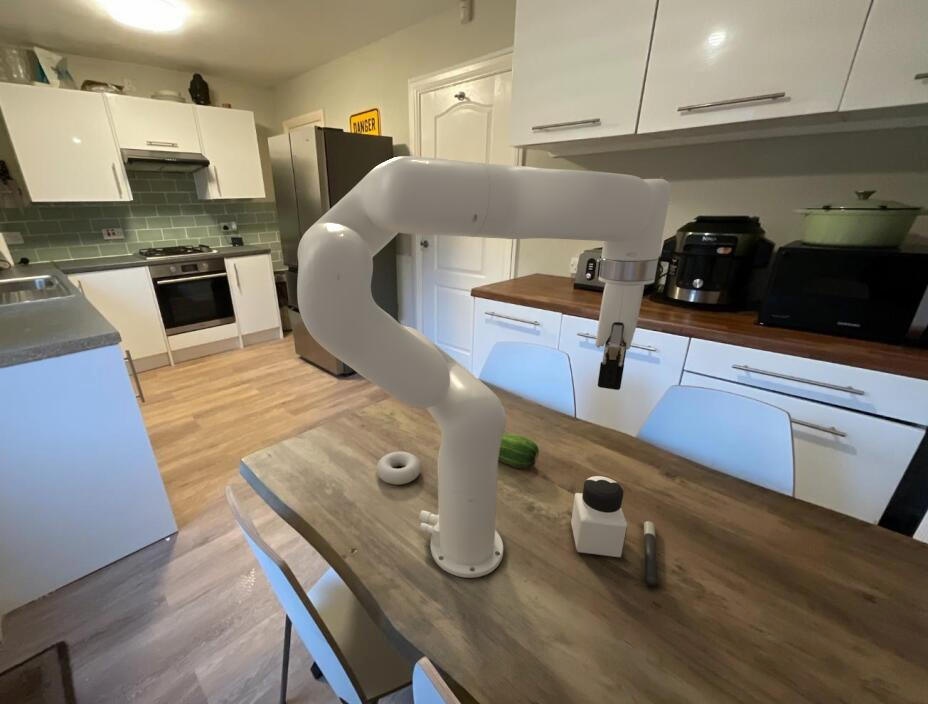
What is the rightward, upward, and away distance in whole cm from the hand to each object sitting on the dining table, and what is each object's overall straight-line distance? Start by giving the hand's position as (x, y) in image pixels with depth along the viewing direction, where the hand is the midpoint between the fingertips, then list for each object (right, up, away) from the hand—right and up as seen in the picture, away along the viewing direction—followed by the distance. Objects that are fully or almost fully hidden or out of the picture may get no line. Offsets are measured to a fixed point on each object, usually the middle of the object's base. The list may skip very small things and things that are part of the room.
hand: (611, 376), depth 67 cm
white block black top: (0, -29, +5) cm, 30 cm away
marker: (+7, -30, +2) cm, 31 cm away
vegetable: (-13, -20, +30) cm, 38 cm away
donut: (-36, -23, +25) cm, 49 cm away
